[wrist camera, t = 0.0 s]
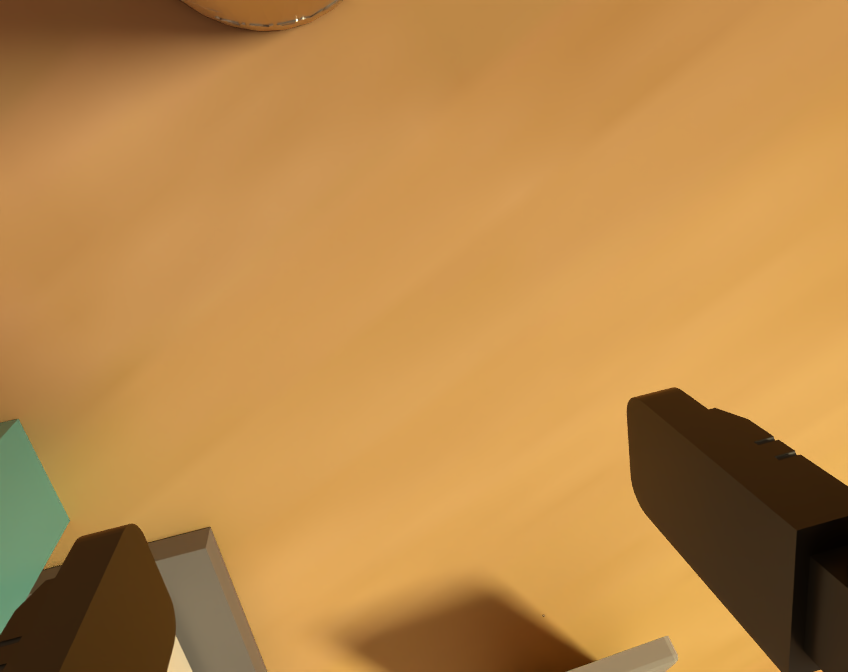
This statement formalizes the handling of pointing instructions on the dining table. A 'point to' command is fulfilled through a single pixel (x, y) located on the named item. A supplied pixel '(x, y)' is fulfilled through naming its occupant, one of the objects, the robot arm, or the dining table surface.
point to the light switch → (637, 659)
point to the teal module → (24, 518)
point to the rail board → (200, 606)
